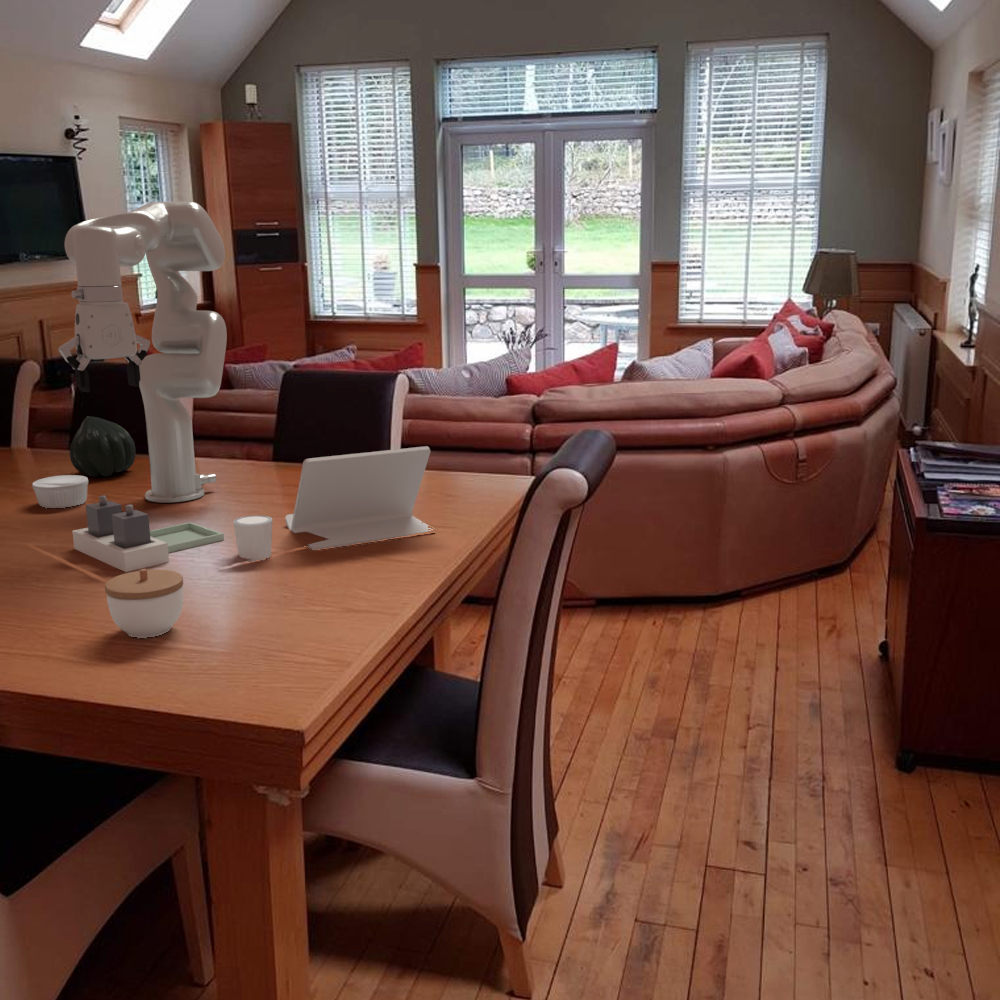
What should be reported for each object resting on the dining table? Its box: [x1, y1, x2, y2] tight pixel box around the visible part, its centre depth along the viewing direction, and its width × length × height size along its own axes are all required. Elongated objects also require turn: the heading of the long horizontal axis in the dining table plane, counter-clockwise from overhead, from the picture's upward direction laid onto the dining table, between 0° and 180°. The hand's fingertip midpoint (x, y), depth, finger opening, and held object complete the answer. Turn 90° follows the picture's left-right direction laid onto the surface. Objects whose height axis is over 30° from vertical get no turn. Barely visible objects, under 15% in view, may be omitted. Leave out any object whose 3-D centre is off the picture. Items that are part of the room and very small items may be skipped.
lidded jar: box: [104, 568, 184, 639], centre depth 151 cm, size 11×11×9 cm
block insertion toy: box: [72, 494, 170, 573], centre depth 186 cm, size 8×20×11 cm, turn 46°
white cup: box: [232, 514, 273, 562], centre depth 187 cm, size 7×7×7 cm
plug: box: [112, 504, 151, 549], centre depth 183 cm, size 4×4×10 cm
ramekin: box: [32, 474, 89, 509], centre depth 226 cm, size 11×11×5 cm
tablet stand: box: [284, 445, 433, 550], centre depth 202 cm, size 18×25×17 cm
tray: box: [150, 521, 225, 554], centre depth 196 cm, size 12×12×2 cm
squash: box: [69, 415, 136, 478], centre depth 254 cm, size 14×15×15 cm
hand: (109, 388), depth 196 cm, fingers open, 9 cm apart
